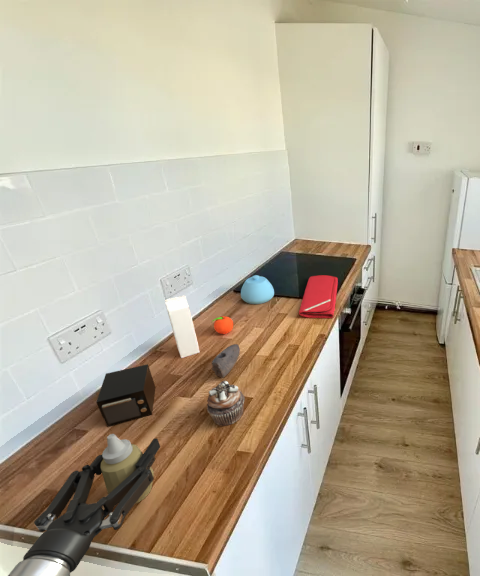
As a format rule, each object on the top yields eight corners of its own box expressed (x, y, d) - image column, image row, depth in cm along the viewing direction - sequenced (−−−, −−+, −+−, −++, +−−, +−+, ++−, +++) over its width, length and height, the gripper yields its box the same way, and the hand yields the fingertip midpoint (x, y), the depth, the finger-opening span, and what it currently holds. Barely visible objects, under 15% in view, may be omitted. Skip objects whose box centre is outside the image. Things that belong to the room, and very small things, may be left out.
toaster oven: (106, 431, 86) (94, 405, 82) (115, 397, 96) (105, 373, 92) (151, 418, 90) (142, 393, 86) (155, 387, 101) (148, 364, 97)
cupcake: (201, 423, 89) (194, 396, 85) (226, 398, 98) (220, 372, 94) (231, 432, 87) (225, 404, 83) (253, 406, 96) (249, 380, 91)
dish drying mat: (338, 280, 179) (338, 274, 178) (334, 318, 143) (334, 311, 141) (309, 279, 178) (309, 273, 176) (297, 318, 141) (297, 311, 139)
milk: (178, 350, 118) (162, 296, 108) (196, 344, 121) (183, 291, 112) (181, 358, 113) (165, 303, 104) (200, 352, 117) (187, 298, 107)
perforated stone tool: (232, 352, 118) (230, 337, 115) (246, 354, 117) (244, 338, 114) (209, 381, 104) (205, 364, 101) (224, 382, 104) (221, 365, 101)
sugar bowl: (234, 302, 151) (230, 280, 146) (253, 289, 164) (250, 268, 159) (264, 307, 148) (261, 284, 143) (280, 293, 161) (278, 272, 156)
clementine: (211, 338, 125) (208, 323, 122) (213, 329, 130) (210, 314, 127) (234, 336, 127) (231, 320, 124) (235, 326, 133) (232, 311, 130)
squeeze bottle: (153, 468, 77) (131, 413, 69) (162, 493, 72) (139, 437, 64) (110, 491, 72) (81, 434, 64) (117, 520, 67) (86, 462, 59)
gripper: (-12, 581, 52) (94, 454, 73) (121, 576, 54) (189, 453, 74) (-35, 556, 49) (83, 431, 70) (107, 552, 51) (181, 430, 71)
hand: (137, 442), depth 72 cm, fingers open, 8 cm apart
